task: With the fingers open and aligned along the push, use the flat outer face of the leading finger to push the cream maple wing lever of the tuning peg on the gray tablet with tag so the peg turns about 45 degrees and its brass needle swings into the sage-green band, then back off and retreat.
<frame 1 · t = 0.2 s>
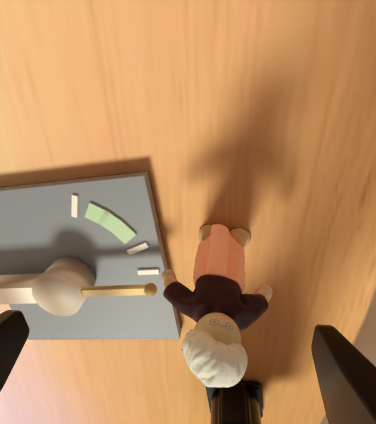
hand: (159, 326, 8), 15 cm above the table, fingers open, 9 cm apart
grandmother figurine: (217, 237, 23), on the table
gray tablet with tag: (80, 266, 26), on the table
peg: (58, 286, 24), point 3 cm above the table, hinge at 0.0°
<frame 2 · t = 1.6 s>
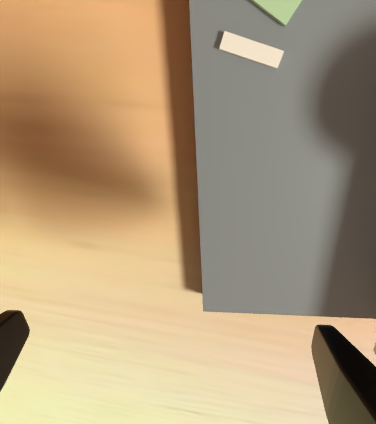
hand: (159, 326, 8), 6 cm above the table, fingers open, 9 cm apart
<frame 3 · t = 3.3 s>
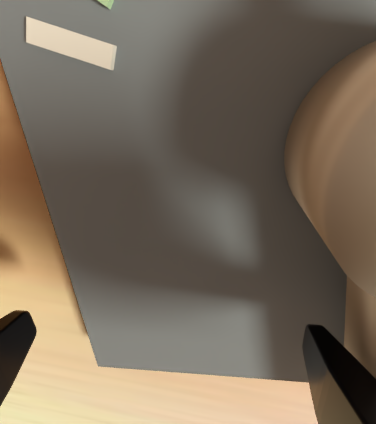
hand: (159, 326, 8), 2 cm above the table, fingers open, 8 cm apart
gray tablet with tag: (355, 136, 7), on the table
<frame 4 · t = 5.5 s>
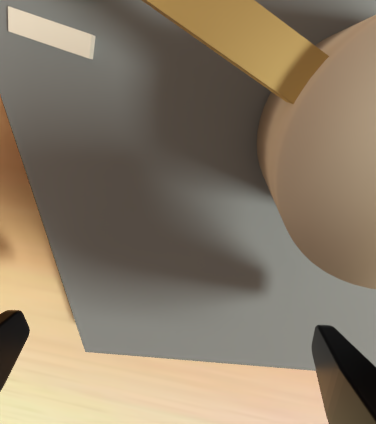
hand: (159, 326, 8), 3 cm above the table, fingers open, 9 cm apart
gray tablet with tag: (329, 126, 7), on the table
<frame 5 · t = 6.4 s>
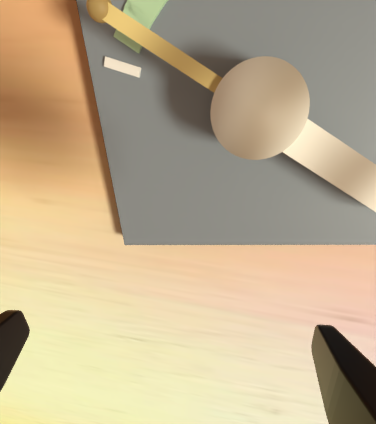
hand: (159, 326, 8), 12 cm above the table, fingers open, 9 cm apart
gray tablet with tag: (249, 106, 16), on the table
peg: (265, 117, 13), point 3 cm above the table, hinge at 55.9°
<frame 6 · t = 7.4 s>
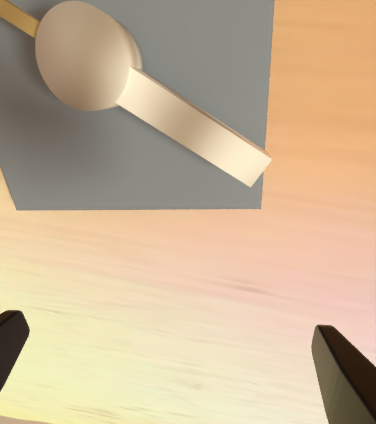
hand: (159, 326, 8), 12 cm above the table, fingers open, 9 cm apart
gray tablet with tag: (115, 67, 16), on the table
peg: (106, 70, 13), point 3 cm above the table, hinge at 55.9°
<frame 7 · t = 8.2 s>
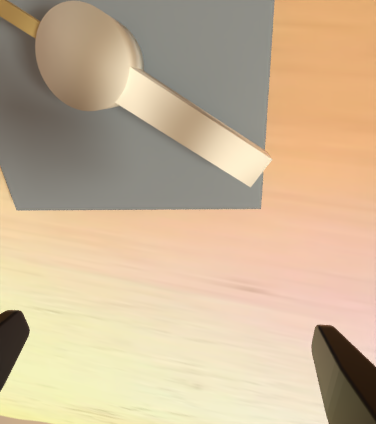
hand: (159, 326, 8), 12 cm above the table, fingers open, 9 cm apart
gray tablet with tag: (115, 67, 16), on the table
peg: (106, 70, 13), point 3 cm above the table, hinge at 55.9°
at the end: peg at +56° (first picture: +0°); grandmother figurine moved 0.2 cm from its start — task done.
